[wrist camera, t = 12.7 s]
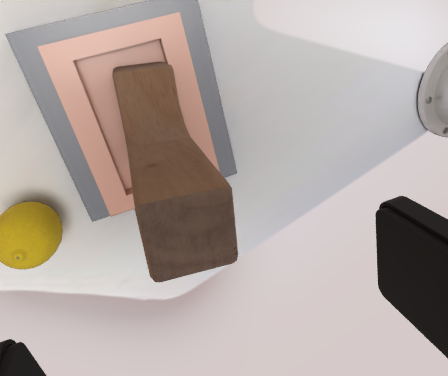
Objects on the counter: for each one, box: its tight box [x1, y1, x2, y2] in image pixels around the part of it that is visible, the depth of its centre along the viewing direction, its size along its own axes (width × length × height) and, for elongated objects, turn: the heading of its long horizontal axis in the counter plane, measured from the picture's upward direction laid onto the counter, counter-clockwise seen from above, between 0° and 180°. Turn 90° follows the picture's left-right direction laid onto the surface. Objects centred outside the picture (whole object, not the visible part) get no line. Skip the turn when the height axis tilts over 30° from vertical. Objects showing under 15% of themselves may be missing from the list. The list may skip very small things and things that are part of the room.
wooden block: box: [112, 62, 238, 282], centre depth 23 cm, size 9×4×18 cm, turn 6°
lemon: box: [0, 202, 63, 269], centre depth 32 cm, size 6×6×8 cm
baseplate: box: [5, 0, 237, 222], centre depth 32 cm, size 16×18×5 cm
